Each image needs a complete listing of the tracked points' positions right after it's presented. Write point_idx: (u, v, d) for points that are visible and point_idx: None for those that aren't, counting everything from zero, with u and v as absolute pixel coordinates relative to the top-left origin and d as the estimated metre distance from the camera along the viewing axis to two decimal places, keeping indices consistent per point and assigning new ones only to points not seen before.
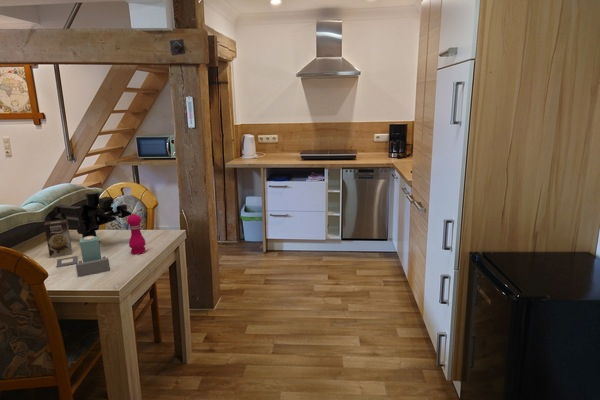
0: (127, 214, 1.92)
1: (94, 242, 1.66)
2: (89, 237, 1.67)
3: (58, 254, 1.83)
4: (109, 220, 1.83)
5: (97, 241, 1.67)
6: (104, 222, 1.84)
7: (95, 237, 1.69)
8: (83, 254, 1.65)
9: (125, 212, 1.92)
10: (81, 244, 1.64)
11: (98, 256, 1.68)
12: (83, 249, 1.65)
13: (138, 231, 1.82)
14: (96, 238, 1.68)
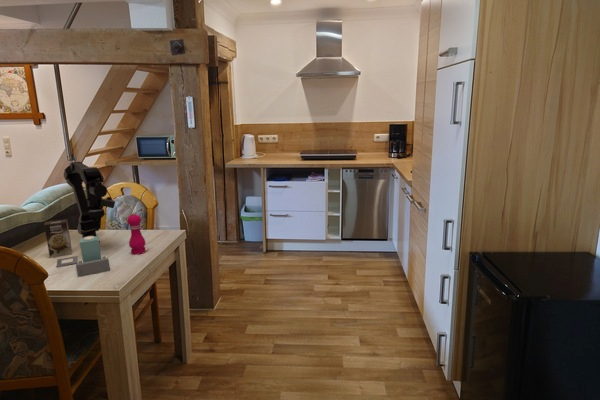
0: None
1: (94, 242, 1.66)
2: (89, 237, 1.67)
3: (58, 254, 1.83)
4: (96, 223, 1.81)
5: (97, 241, 1.67)
6: (93, 219, 1.80)
7: (95, 237, 1.69)
8: (83, 254, 1.65)
9: None
10: (81, 244, 1.64)
11: (98, 256, 1.68)
12: (83, 249, 1.65)
13: (138, 231, 1.82)
14: (96, 238, 1.68)
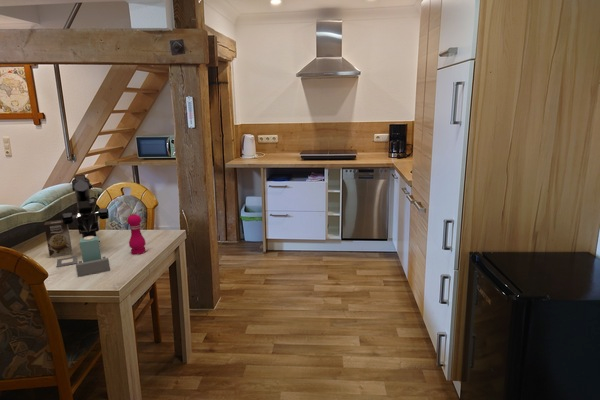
0: None
1: (94, 242, 1.66)
2: (89, 237, 1.67)
3: (58, 254, 1.83)
4: (84, 227, 1.79)
5: (97, 241, 1.67)
6: (82, 224, 1.81)
7: (95, 237, 1.69)
8: (83, 254, 1.65)
9: (88, 224, 1.79)
10: (81, 244, 1.64)
11: (98, 256, 1.68)
12: (83, 249, 1.65)
13: (138, 231, 1.82)
14: (96, 238, 1.68)
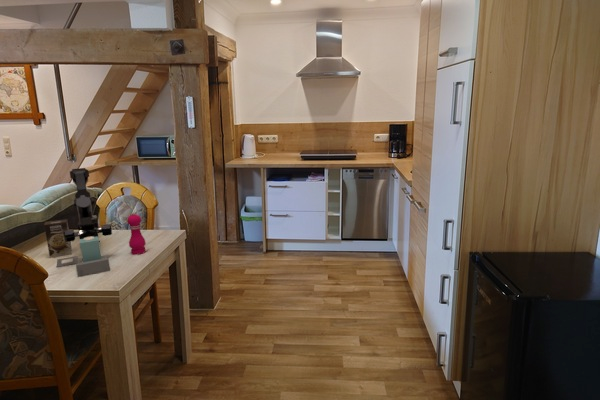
0: None
1: (94, 242, 1.66)
2: (89, 237, 1.67)
3: (58, 254, 1.83)
4: None
5: (97, 242, 1.66)
6: None
7: (95, 238, 1.69)
8: (83, 255, 1.64)
9: None
10: (81, 245, 1.63)
11: (98, 256, 1.67)
12: (83, 250, 1.64)
13: (138, 231, 1.82)
14: (96, 238, 1.68)
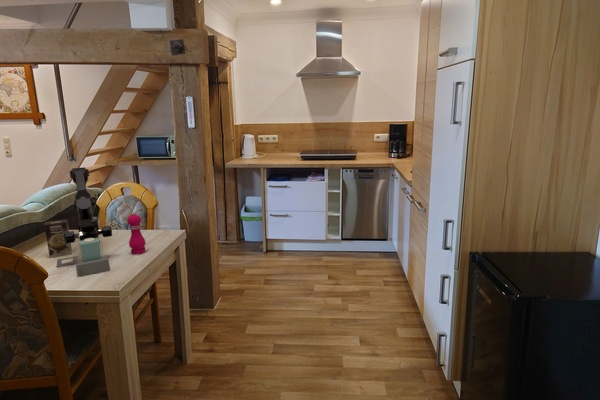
0: None
1: (95, 244, 1.64)
2: (89, 239, 1.65)
3: (58, 254, 1.83)
4: None
5: (97, 243, 1.64)
6: None
7: (96, 239, 1.67)
8: (83, 256, 1.62)
9: None
10: (81, 246, 1.61)
11: (98, 258, 1.65)
12: (83, 251, 1.62)
13: (138, 231, 1.82)
14: (96, 240, 1.66)
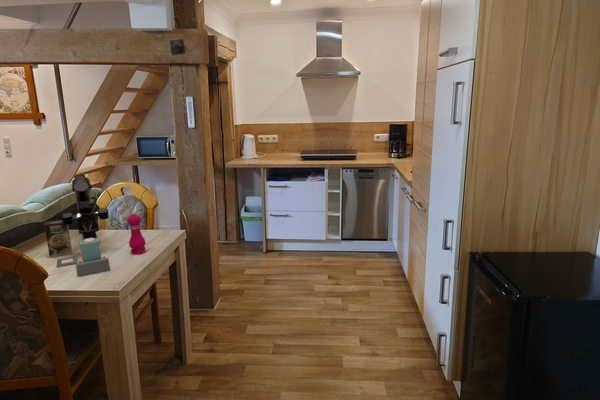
0: None
1: (95, 244, 1.64)
2: (89, 239, 1.65)
3: (58, 254, 1.83)
4: (84, 227, 1.79)
5: (97, 243, 1.64)
6: (82, 224, 1.80)
7: (96, 239, 1.67)
8: (83, 256, 1.62)
9: (88, 224, 1.79)
10: (81, 246, 1.61)
11: (98, 258, 1.65)
12: (83, 251, 1.62)
13: (138, 231, 1.82)
14: (96, 240, 1.66)
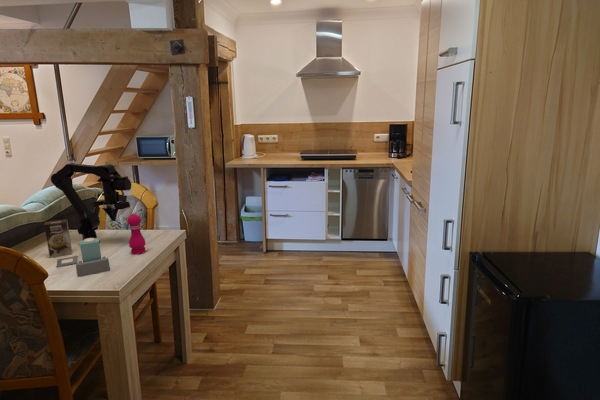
0: None
1: (95, 244, 1.64)
2: (89, 239, 1.65)
3: (58, 254, 1.83)
4: (113, 216, 1.94)
5: (97, 243, 1.64)
6: (112, 211, 1.92)
7: (96, 239, 1.67)
8: (83, 256, 1.62)
9: None
10: (81, 246, 1.61)
11: (98, 258, 1.65)
12: (83, 251, 1.62)
13: (138, 231, 1.82)
14: (96, 240, 1.66)
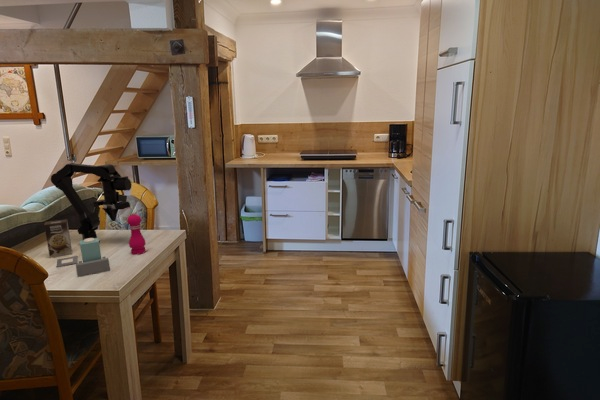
0: None
1: (95, 244, 1.64)
2: (89, 239, 1.65)
3: (58, 254, 1.83)
4: (113, 216, 1.94)
5: (97, 243, 1.64)
6: (112, 211, 1.92)
7: (96, 239, 1.67)
8: (83, 256, 1.62)
9: None
10: (81, 246, 1.61)
11: (98, 258, 1.65)
12: (83, 251, 1.62)
13: (138, 231, 1.82)
14: (96, 240, 1.66)
